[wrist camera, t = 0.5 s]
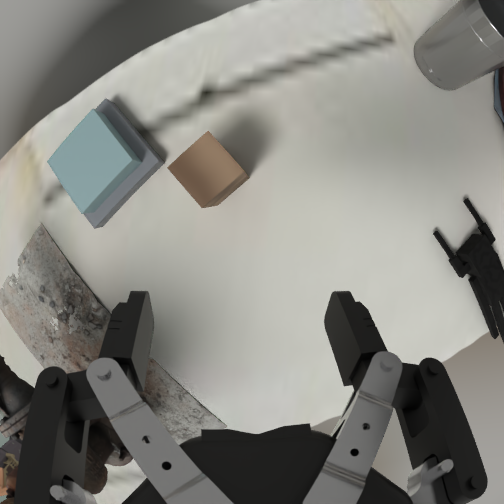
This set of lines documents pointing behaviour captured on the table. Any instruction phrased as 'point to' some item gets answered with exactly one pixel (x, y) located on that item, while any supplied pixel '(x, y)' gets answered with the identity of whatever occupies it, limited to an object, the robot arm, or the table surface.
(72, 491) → the robot arm
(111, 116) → the tower base slab
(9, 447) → the model tower
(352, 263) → the table surface
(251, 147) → the table surface
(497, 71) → the sculpture
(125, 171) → the tower top slab
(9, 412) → the valve
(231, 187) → the walnut pillar
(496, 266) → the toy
